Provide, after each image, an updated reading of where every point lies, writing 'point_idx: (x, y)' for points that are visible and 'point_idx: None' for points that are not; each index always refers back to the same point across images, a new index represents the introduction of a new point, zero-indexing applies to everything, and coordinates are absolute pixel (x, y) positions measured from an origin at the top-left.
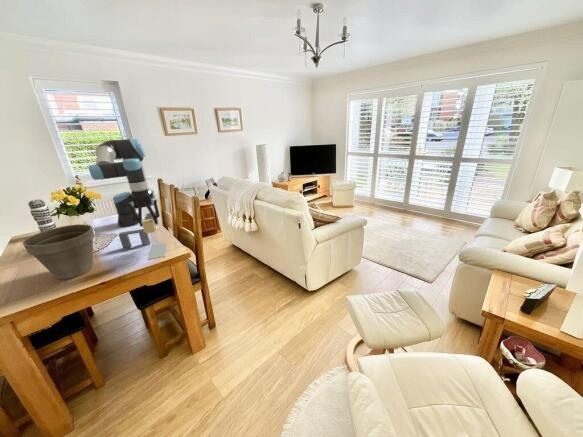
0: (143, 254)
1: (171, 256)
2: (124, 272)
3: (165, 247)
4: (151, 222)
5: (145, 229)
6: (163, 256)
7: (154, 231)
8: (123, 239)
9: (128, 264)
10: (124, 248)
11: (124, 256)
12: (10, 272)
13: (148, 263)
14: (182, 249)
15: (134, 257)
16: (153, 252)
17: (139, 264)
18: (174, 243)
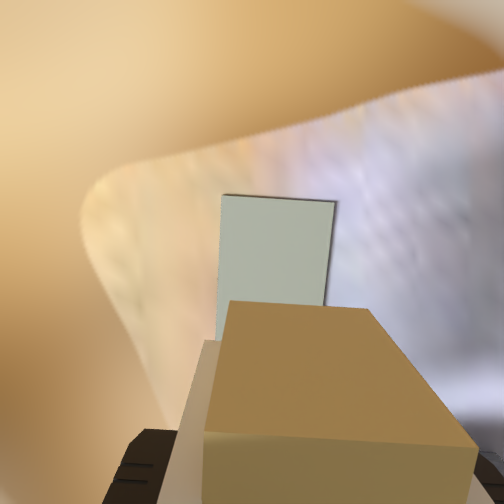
0: (369, 310)
1: (171, 170)
2: (496, 83)
3: (219, 339)
4: (230, 421)
5: (378, 342)
6: (229, 196)
7: (235, 302)
8: None
9: (468, 202)
10: (493, 457)
11: (492, 344)
12: None
13: (334, 141)
14: (94, 248)
15: (428, 294)
16: (301, 299)
17: (395, 160)
18: (159, 379)
